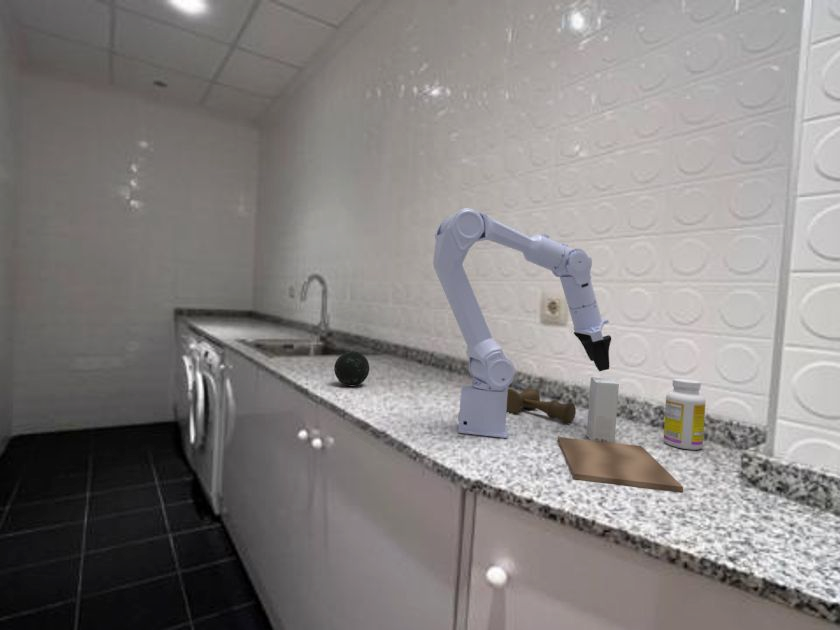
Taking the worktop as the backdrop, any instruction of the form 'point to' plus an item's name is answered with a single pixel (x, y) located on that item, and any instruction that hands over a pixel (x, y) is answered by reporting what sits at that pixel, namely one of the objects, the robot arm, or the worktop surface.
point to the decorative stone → (351, 368)
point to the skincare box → (602, 410)
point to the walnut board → (615, 464)
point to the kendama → (539, 405)
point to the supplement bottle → (684, 415)
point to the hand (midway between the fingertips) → (599, 364)
